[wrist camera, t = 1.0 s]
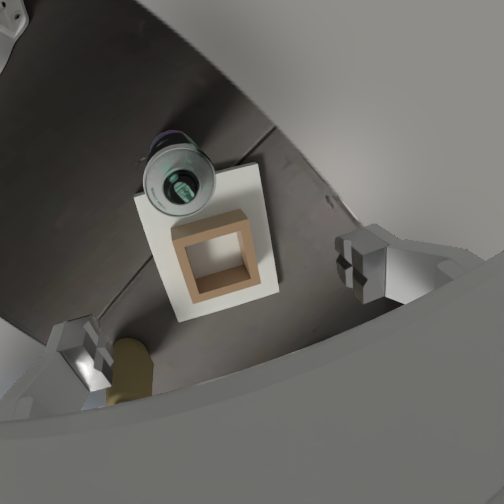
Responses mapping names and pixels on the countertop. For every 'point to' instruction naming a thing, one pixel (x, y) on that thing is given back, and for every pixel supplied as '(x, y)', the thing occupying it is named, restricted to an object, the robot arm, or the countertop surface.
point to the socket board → (214, 247)
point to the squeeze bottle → (130, 372)
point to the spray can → (178, 175)
